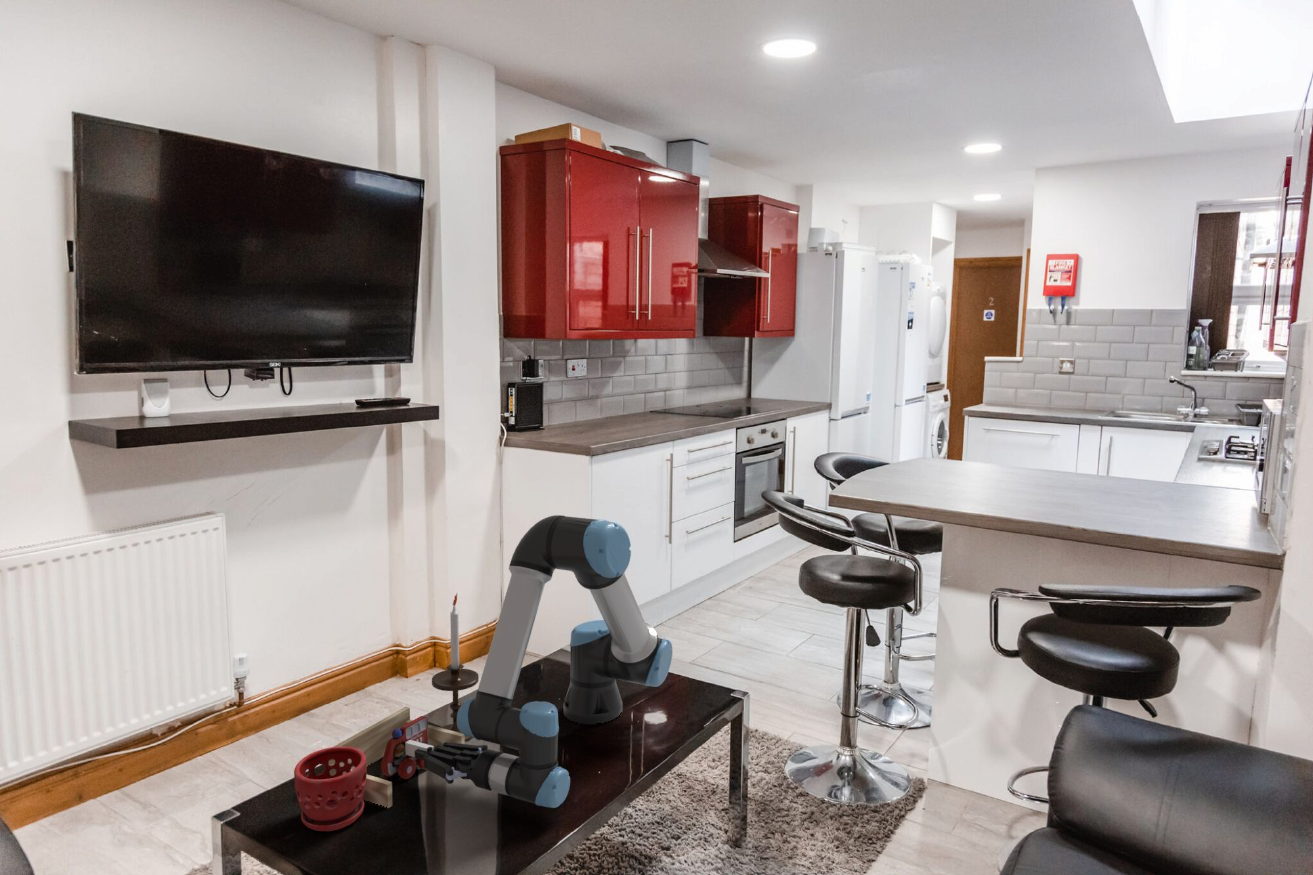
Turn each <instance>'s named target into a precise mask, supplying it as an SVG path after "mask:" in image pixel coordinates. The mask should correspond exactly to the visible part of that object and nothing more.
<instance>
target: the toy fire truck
mask: <svg viewBox="0 0 1313 875" xmlns="http://www.w3.org/2000/svg"><path fill="white" fill-rule="evenodd" d="M412 720H413V721H411V722H409V723H407V724H405V725H404V726H402V727H401V728H400V729H395V730H393V732H392V737H393V738H391V739H390V740H389V741H388V742H387V746H386V749H385V753H384V756H383V757H382V760H381V762H380V770H381V772H382V773H383V775H384V776H386V777H392V776H394V775H395V774H398V777H400V779H401V778H402V779H404V780H408V779H410V778H412V776H414V774H415V773H416V768H419V769H423V770H426V769H425V768H424V760H421V759H417V758H415V757H412V756H409V755H406V749H405V743H406V742H407V741H409V740H413V741H417V742H420V743H424V744H428V735H427V728H428V725H429V719H428V717H427V716H424V715H421V716H418V717H417V718H415V719H412ZM400 742H401V743H400Z"/></svg>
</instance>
